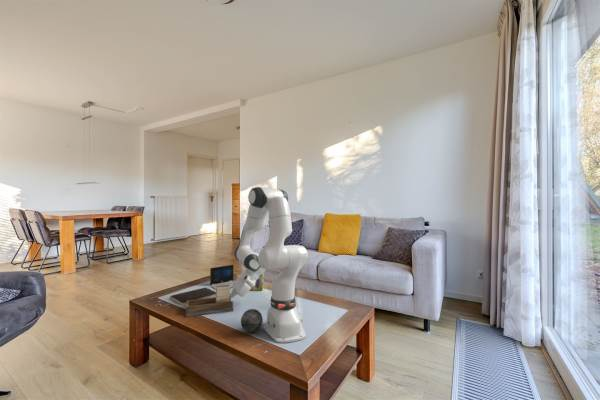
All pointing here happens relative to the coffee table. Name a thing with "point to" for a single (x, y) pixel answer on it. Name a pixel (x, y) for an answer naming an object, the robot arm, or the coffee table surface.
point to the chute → (207, 307)
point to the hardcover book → (193, 295)
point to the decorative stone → (251, 320)
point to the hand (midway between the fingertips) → (230, 296)
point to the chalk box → (259, 283)
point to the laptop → (221, 276)
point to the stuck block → (222, 293)
